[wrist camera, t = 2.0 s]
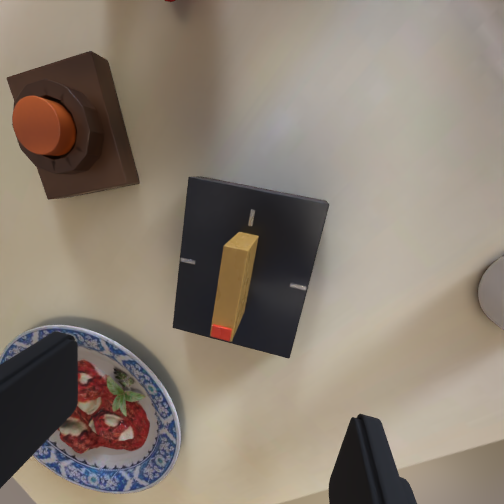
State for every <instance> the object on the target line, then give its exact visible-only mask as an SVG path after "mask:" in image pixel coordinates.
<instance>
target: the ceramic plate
mask: <svg viewBox="0 0 504 504" xmlns="http://www.w3.org/2000/svg"><path fill="white" fill-rule="evenodd" d="M55 331H58V332H62V333H66V334H69V335H72V336H74V338H75V341H76V342H77V344H78V404H77V407H76V409H75V411H74V412H73V414H72V415H71V416H70V417H69V418H68V419H67V420H66V421H65V422H64V423H63V424H62V425H61V426H60V427H59V428H58V429H57V430H56V431H55V432H54V433H53V434H52V435H51V436H50V438H49V439H48V440H47V441H46V442H45V443H44V444H43V445H42V446H41V447H40V448H39V449H38V450H37V451H36V452H35V453H34V454H33V456H34V457H35V458H36V459H37V460H38V461H39V462H40V463H41V464H43V465H44V466H46V467H47V468H48V469H50V470H51V471H52V472H54V473H55V474H57V475H58V476H60V477H62V478H64V479H66V480H68V481H70V482H72V483H74V484H77V485H79V486H81V487H84V488H87V489H91V490H95V491H99V492H104V493H114V494H124V493H135V492H139V491H142V490H145V489H148V488H150V487H152V486H154V485H156V484H157V483H159V482H160V481H162V480H163V479H164V478H165V477H166V476H167V475H168V474H169V472H170V471H171V470H172V468H173V466H174V464H175V462H176V460H177V458H178V454H179V450H180V443H181V431H180V423H179V419H178V415H177V412H176V409H175V406H174V404H173V402H172V400H171V398H170V396H169V394H168V392H167V391H166V389H165V387H164V386H163V384H162V383H161V381H160V380H159V379H158V378H157V376H156V375H155V374H154V373H153V372H152V370H151V369H150V368H149V367H148V366H147V365H146V364H145V363H144V362H143V361H142V360H140V359H139V358H138V357H137V356H136V355H135V354H133V353H132V352H131V351H129V350H128V349H127V348H125V347H124V346H122V345H121V344H119V343H117V342H116V341H114V340H112V339H110V338H108V337H106V336H104V335H101V334H99V333H97V332H94V331H91V330H88V329H84V328H81V327H76V326H70V325H47V326H40V327H37V328H33V329H31V330H28V331H26V332H24V333H22V334H20V335H18V336H17V337H16V338H14V339H13V340H12V341H11V342H10V343H9V344H8V345H7V346H6V348H5V349H4V351H3V352H2V354H1V356H0V364H2V363H4V362H5V361H7V360H9V359H10V358H12V357H13V356H15V355H17V354H18V353H20V352H21V351H23V350H25V349H26V348H28V347H30V346H31V345H33V344H34V343H36V342H38V341H39V340H41V339H42V338H44V337H46V336H47V335H49V334H51V333H52V332H55Z"/></svg>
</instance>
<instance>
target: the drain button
mask: <svg viewBox="0 0 504 504" xmlns="http://www.w3.org/2000/svg"><path fill="white" fill-rule="evenodd" d="M12 121H13V128H14V131H15V134H16V136H17V138H18V140H19V141H20V143H21V144H22V145H23V146H24V147H25V148H26V149H27V150H29V151H31V152H33V153H35V154H39V155H51V156H62V155H65V154H66V153H68V152H69V151H70V150H71V149H72V148H73V146H74V144H75V141H76V126H75V123H74V120H73V118H72V116H71V114H70V113H69V112H68V110H67V109H66V108H65V107H64V106H62V105H61V104H59V103H57V102H54V101H51V100H48V99H44V98H41V97H37V96H26V97H24V98H22V99H21V100H19V101H18V103H17V104H16V106H15V108H14V111H13V116H12Z"/></svg>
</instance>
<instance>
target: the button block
mask: <svg viewBox="0 0 504 504" xmlns="http://www.w3.org/2000/svg"><path fill="white" fill-rule="evenodd" d="M7 81H8V84H9V87H10V90H11V92H12V95H13V98H14V108H15V106H16V104H17V103H18V101H19V100H21V99H22V98H24V97H26V96H37V97H41V98H44V99H48V100H51V101H54V102H57V103H59V104H61V105H62V106H64V107H65V108H66V109H67V110H68V112H69V113H70V114H71V116H72V118H73V120H74V123H75V126H76V141H75V144H74V146H73V148H72V149H71V150H70V151H69V152H68V153H66V154H65V155H62V156H51V155H39V154H35V153H33V152H31V151H29V150H27V149H26V148H25V147H24V146H23V145H22V144H21V143H20V141H19V140H18V138H17V140H18V143H19V146H20V148H21V150H22V151H23V152H24V153H25V154H26V156H27V157H28V158H29V159H30V160H31V161H32V162H33V163H34V165H35V166H37V169H38V172H39V175H40V178H41V181H42V184H43V187H44V189H45V192H46V195H47V198H48V199H59V198H67V197H72V196H78V195H83V194H88V193H93V192H99V191H104V190H109V189H114V188H119V187H125V186H130V185H135V184H139V179H138V176H137V172H136V168H135V164H134V160H133V156H132V152H131V149H130V145H129V141H128V137H127V133H126V129H125V125H124V122H123V118H122V114H121V110H120V106H119V102H118V98H117V95H116V91H115V87H114V83H113V79H112V75H111V71H110V68H109V64H108V61H107V60H105V59H104V58H102V57H100V56H99V55H97V54H95V53H93V52H92V51H89V52H86V53H82V54H79V55H76V56H73V57H70V58H67V59H64V60H60V61H57V62H54V63H51V64H48V65H45V66H42V67H39V68H35V69H32V70H29V71H26V72H23V73H20V74H17V75H13V76H10V77H7ZM13 111H14V110H13ZM12 125H13V124H12ZM16 137H17V136H16Z"/></svg>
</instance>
